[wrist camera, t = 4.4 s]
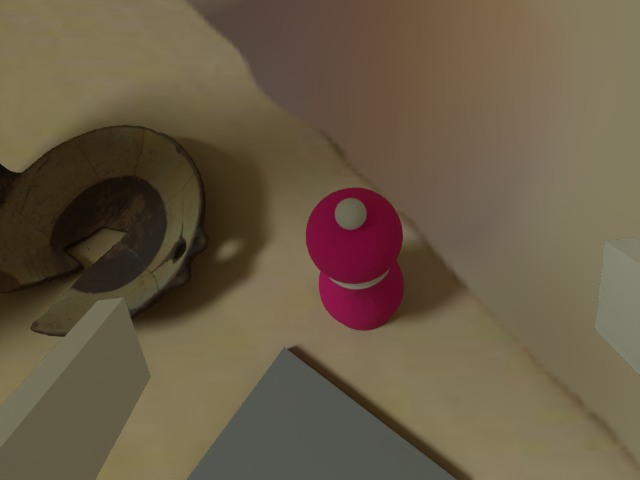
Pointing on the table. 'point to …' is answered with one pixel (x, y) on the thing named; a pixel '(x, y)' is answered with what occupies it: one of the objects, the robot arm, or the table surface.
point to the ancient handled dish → (102, 221)
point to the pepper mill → (357, 256)
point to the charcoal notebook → (309, 435)
